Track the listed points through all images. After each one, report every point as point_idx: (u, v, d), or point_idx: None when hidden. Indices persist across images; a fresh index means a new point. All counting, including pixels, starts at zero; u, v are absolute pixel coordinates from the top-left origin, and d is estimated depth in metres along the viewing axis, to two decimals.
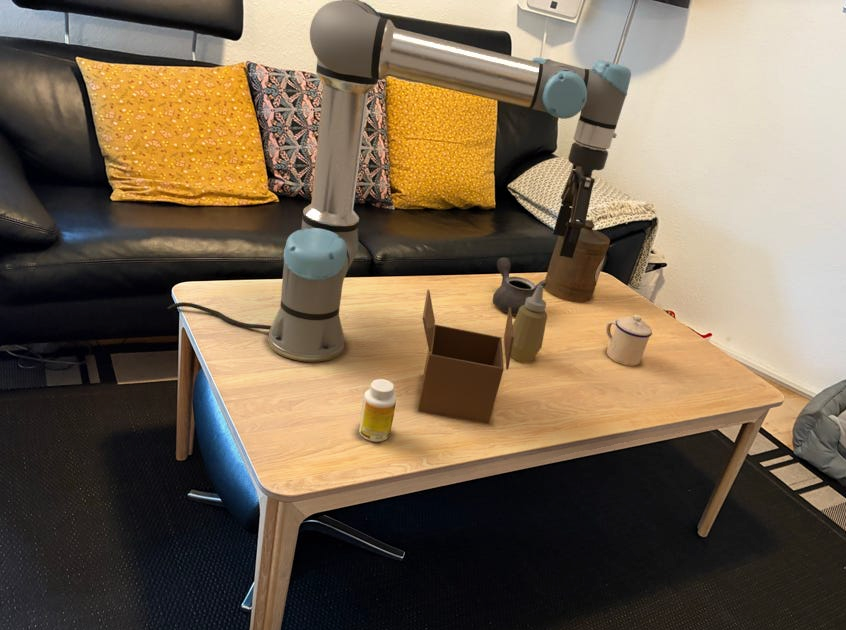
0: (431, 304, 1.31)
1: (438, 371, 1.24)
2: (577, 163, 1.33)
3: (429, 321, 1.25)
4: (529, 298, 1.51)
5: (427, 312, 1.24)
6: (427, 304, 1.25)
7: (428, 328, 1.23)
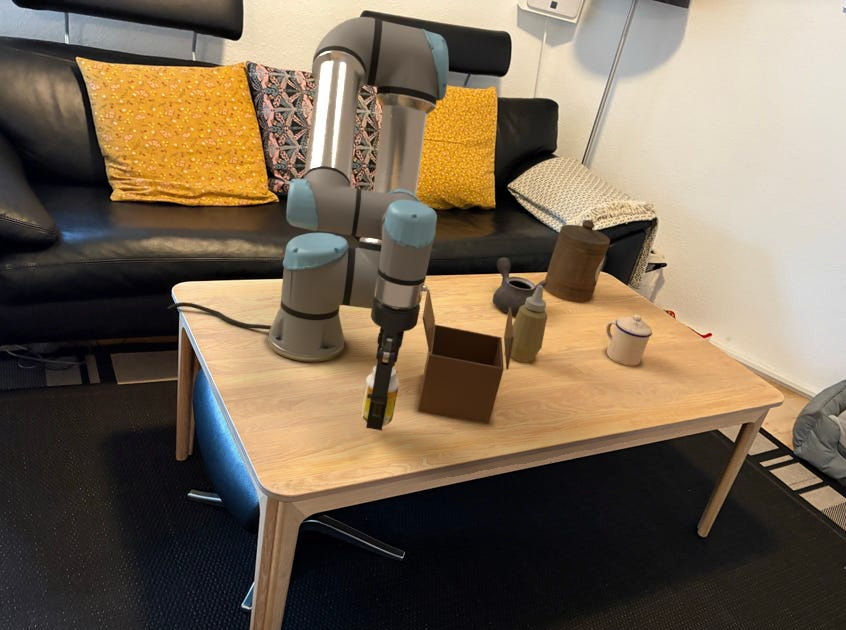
0: (431, 304, 1.31)
1: (438, 371, 1.24)
2: (377, 324, 1.06)
3: (429, 321, 1.25)
4: (529, 298, 1.51)
5: (427, 312, 1.24)
6: (427, 304, 1.25)
7: (428, 328, 1.23)
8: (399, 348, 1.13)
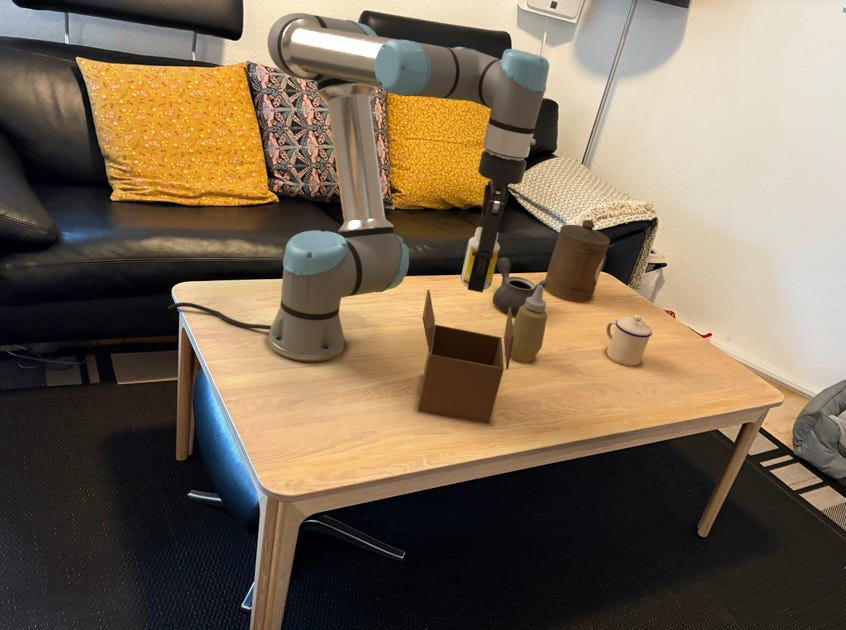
0: (431, 304, 1.31)
1: (438, 371, 1.24)
2: (487, 175, 1.09)
3: (429, 321, 1.25)
4: (529, 298, 1.51)
5: (427, 312, 1.24)
6: (427, 304, 1.25)
7: (428, 328, 1.23)
8: None
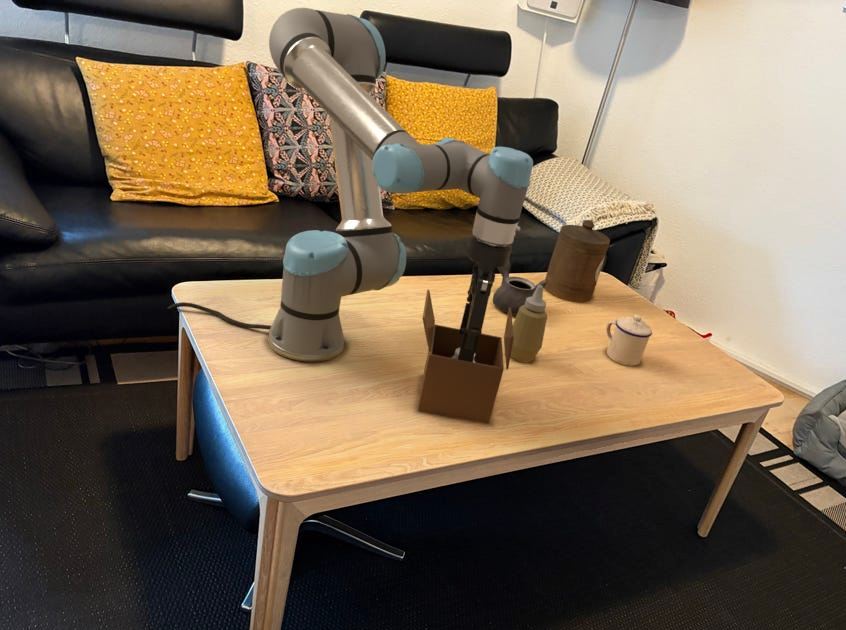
0: (431, 304, 1.31)
1: (438, 371, 1.24)
2: (475, 260, 1.17)
3: (429, 321, 1.25)
4: (529, 298, 1.51)
5: (427, 312, 1.24)
6: (427, 304, 1.25)
7: (428, 328, 1.23)
8: None
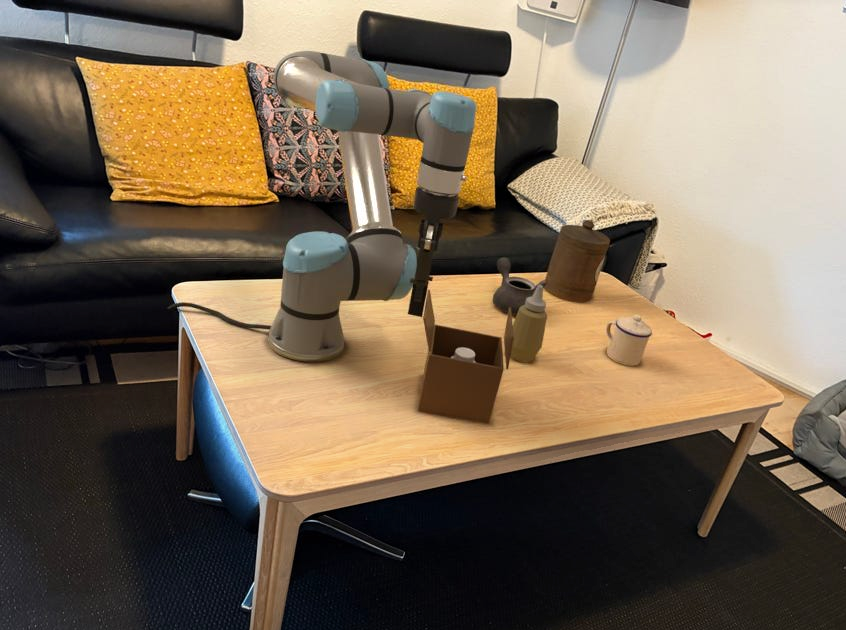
0: (431, 304, 1.31)
1: (438, 371, 1.24)
2: (420, 211, 1.13)
3: (429, 321, 1.25)
4: (529, 298, 1.51)
5: (428, 312, 1.24)
6: (428, 304, 1.25)
7: (428, 328, 1.23)
8: None
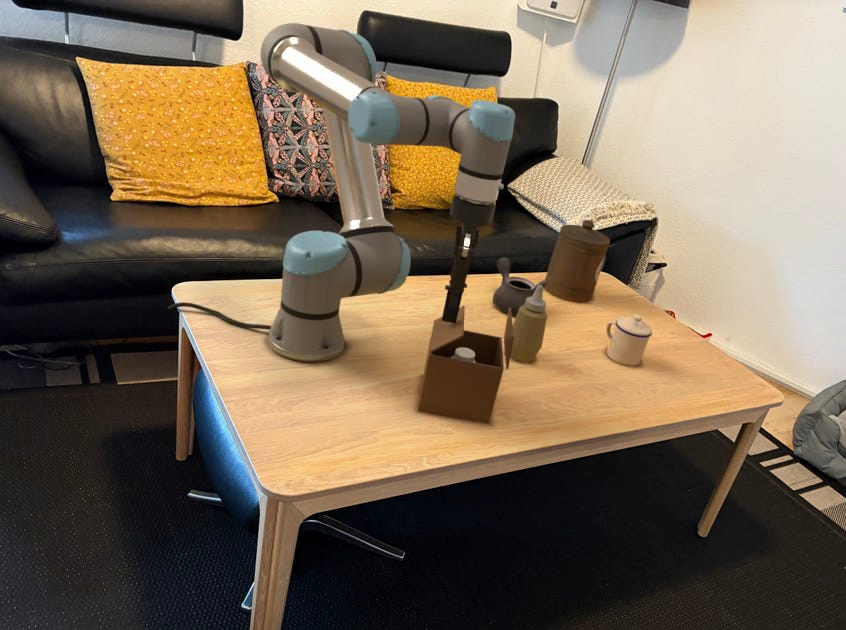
0: None
1: (438, 371, 1.24)
2: (457, 219, 1.14)
3: None
4: (529, 298, 1.51)
5: None
6: None
7: None
8: None
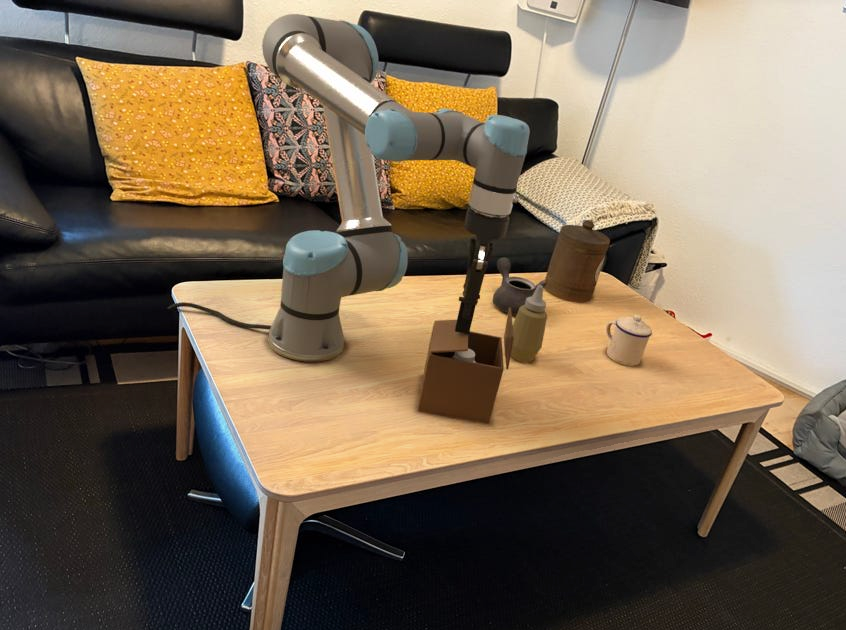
0: None
1: (438, 371, 1.24)
2: (472, 232, 1.15)
3: None
4: (529, 298, 1.51)
5: None
6: None
7: None
8: None
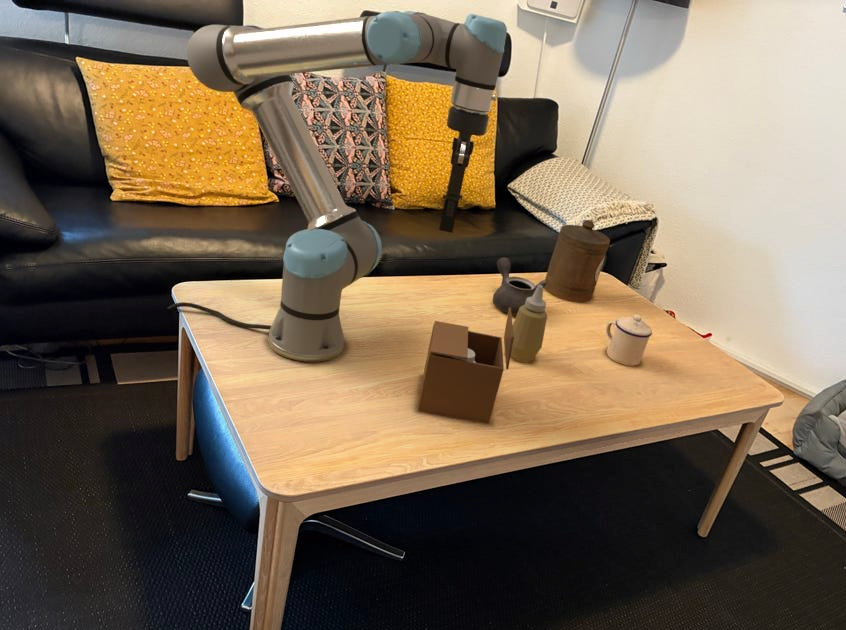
0: None
1: (438, 371, 1.24)
2: (454, 127, 1.23)
3: None
4: (529, 298, 1.51)
5: None
6: None
7: None
8: None
